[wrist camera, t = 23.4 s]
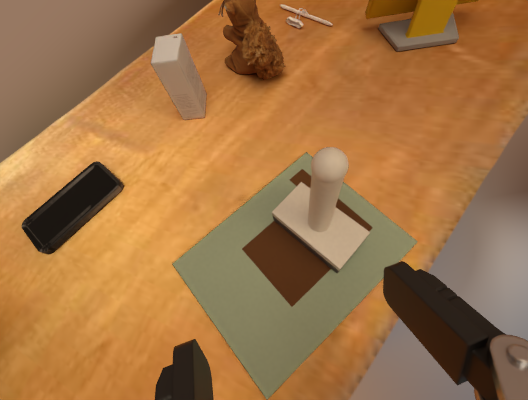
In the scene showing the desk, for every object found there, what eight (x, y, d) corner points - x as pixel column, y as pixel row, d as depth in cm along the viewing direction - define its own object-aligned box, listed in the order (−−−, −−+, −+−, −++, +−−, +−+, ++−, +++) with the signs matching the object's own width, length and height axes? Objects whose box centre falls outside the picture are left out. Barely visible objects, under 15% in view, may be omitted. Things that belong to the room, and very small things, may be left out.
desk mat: (173, 264, 37) (172, 264, 37) (306, 153, 42) (306, 152, 42) (267, 399, 29) (267, 400, 29) (416, 242, 35) (417, 241, 34)
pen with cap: (333, 25, 55) (334, 15, 53) (320, 37, 54) (321, 27, 52) (281, 6, 60) (280, -5, 58) (268, 16, 59) (267, 6, 57)
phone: (19, 224, 42) (96, 159, 45) (25, 226, 43) (101, 162, 46) (41, 255, 39) (122, 183, 43) (48, 257, 40) (126, 186, 44)
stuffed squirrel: (262, 38, 56) (252, -39, 44) (300, 75, 50) (301, -3, 38) (220, 59, 55) (199, -15, 43) (255, 99, 49) (241, 27, 37)
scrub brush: (273, 220, 38) (254, 143, 22) (301, 191, 39) (301, 100, 23) (336, 273, 34) (369, 226, 18) (365, 239, 35) (419, 167, 19)
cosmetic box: (185, 96, 51) (155, 35, 40) (207, 94, 51) (182, 32, 40) (182, 121, 49) (149, 63, 38) (205, 118, 48) (178, 59, 37)
